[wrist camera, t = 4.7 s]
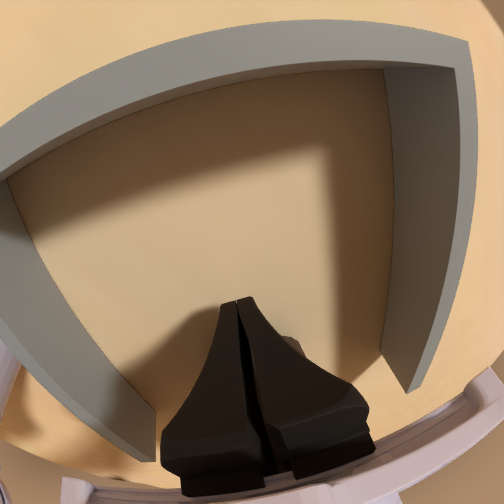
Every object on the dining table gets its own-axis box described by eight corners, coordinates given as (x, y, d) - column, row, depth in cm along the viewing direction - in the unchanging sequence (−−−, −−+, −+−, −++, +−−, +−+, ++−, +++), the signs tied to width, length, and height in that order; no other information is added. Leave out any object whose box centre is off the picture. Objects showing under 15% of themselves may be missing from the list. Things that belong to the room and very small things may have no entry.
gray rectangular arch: (142, 413, 19) (141, 462, 15) (-16, 167, 8) (-75, 200, 4) (392, 345, 19) (419, 386, 16) (397, 46, 9) (468, 41, 5)
